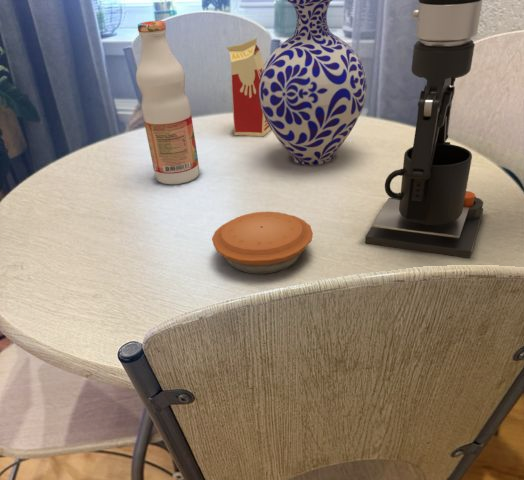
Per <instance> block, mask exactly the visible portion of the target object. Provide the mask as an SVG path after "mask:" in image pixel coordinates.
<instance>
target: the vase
mask: <svg viewBox="0 0 524 480" xmlns="http://www.w3.org/2000/svg"><path fill="white" fill-rule="evenodd" d="M285 1H286V2H288V3H290V4H292V6H293V9H294V10H295V15H296V24H295V30H294V33H293V34H292V35H291V36H289V37H288V38H287V39H286V40H284V41H283V42H282V43H281V44H280V45H279V46H278V47H277V48H276V49H275V50H274V51H273V52H271V54H270V56H269V57H268V58H267V59H266V62H265V63H264V67H263V70H262V73H261V77H260V84H259V99H260V105H261V108H262V111H263V114H264V117H265V119H266V121H267V123H268V125H269V126H270V128H271V129H270V131H271V132H272V133H273V134H274V136H275V137H276V139H277V141H279V143H280V144H281V145H282V146H283V148H284V149H285V150H286V151H287V152H288V154H289V155H290V156H291V157H292V161H293V162H295V163H297V164H300V165H306V166H315V165H322V164H326V163H329V162H331V161H332V160H333V158H334V155H335V154H336V153H337V151H338V150H339V149H340V148H341V146H342V144H344V142H345V141H346V139H347V138H348V136H349V135H350V133H351V132H352V130H353V129H354V128H355V125H356V123H357V121H358V119H359V118H360V116H361V113H362V111H363V108H364V106H365V102H366V99H367V98H366V97H367V90H368V89H367V88H368V86H367V75H366V70H365V67H364V64H363V62H362V59H361V58H360V56H359V54H358V53H357V52H356V51H355V50H354V49H353V48H352V46H350V45H349V44H348V43H347V42H345V40H343V39H341V38H340V37H338V36H337V35H335V34H334V33H332V32H331V31H330V28H329V26H328V19H327V16H328V9H329V6H330V3H331V2H332V1H333V0H285Z"/></svg>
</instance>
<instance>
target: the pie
mask: <svg viewBox="0 0 524 480" xmlns="http://www.w3.org/2000/svg"><path fill="white" fill-rule="evenodd" d="M313 236H314V232H313V230H312V228H311V225H310V224H309V223H307V222H306V221H305V220H304V219H301V218H300V217H298V216H295V215H292V214H287V213H282V212H278V211H256V212H251V213H246V214H243V215H240V216H237V217H235V218H233V219H231V220H229V221H227V222H226V223H224V224H222V225H221V226H220V227H219V228H216V230H215V231H214V232H213V236H212V238H211V240H212V245H213V247H214V248H215V250H216V252H217V253H218V254H219V255H221V256H222V257H224V259H225V260H226V261H227V262H228V263H229V265H231V267H233V268H234V269H236V270H238V271H240V272H243V273H248V274H255V275H261V274H264V275H265V274H272V273H277V272H280V271H282V270H285V269H288V268H289V267H291V266H292V265H293V264H295V263H296V261H297V260H298V259H299V258H300V256H301V254H302V253H303V252H304V251H305V249H306V247H307V246H309V244H311V242H312V240H313Z"/></svg>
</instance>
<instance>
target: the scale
mask: <svg viewBox="0 0 524 480" xmlns="http://www.w3.org/2000/svg"><path fill="white" fill-rule="evenodd" d="M388 199H392V198H391V197H388V198H387V200H388ZM387 200H386V201H385V203H386V202H387ZM395 200H397V199H395ZM383 207H384V205H383ZM383 207H382V208H383ZM467 208H469V210H468V213H467V216H466V219H465V222H464V225H463V228H462V231H461V234H460V237H459V238H454V237H446V236H439V235H431V234H423V233H416V232H408V231H401V230H393V229H386V228H378V227H372V226H370V228H369V230H368V232H367V233H366V234H365V238H364V243H365V244H368V245H369V244H370V245H377V246H384V247H389V248H390V247H391V248H398V249H404V250H411V251H419V252H425V253H433V254H438V255H439V254H440V255H445V256H446V255H447V256H453V257H461V258H468V259H470V258H471V255H472V251H473V250H474V249H473V248H474V245H475V241H476V238H477V234H478V231H479V227H480V224H481V222H482V221H481V220H482V217H483V213H484V202H483V200H482V199H481V198H479V197H477V196H475V198H474V204H473V206H470V207H467ZM380 212H381V210H380V211H379V213H380ZM377 217H378V215H377V216H376V218H377ZM374 222H375V220H374V221H373V223H374Z"/></svg>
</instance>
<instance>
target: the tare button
mask: <svg viewBox="0 0 524 480" xmlns="http://www.w3.org/2000/svg"><path fill="white" fill-rule="evenodd" d="M475 197H476V193H474V192H472V191H468V190H466V194H465V199H464V205H463V207H470V206H473V204H474V198H475Z"/></svg>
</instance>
